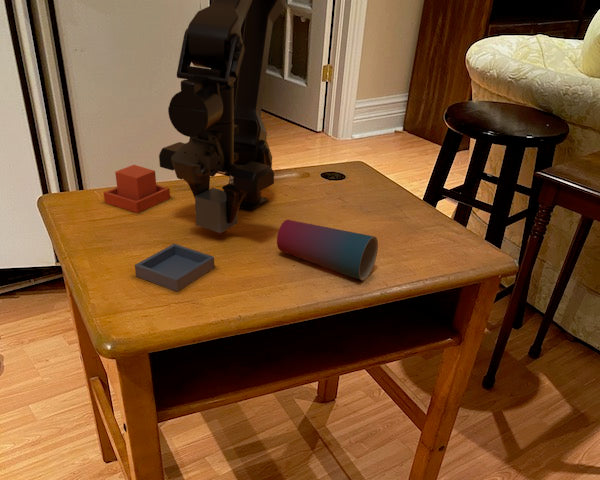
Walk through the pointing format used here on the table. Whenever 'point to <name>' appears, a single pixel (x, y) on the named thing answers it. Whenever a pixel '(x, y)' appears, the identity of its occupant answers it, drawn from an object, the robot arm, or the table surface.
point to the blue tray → (174, 267)
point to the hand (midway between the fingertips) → (216, 218)
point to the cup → (329, 247)
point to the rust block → (135, 182)
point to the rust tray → (141, 204)
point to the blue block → (212, 211)
